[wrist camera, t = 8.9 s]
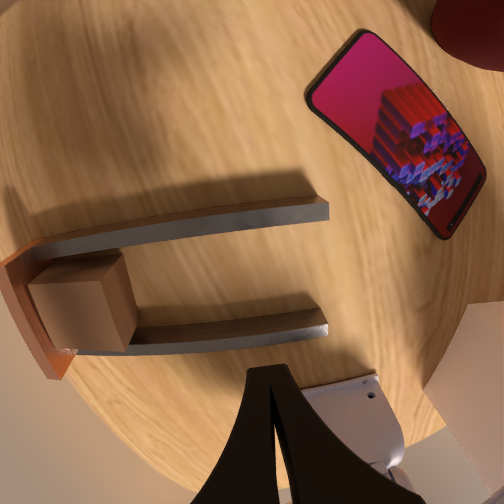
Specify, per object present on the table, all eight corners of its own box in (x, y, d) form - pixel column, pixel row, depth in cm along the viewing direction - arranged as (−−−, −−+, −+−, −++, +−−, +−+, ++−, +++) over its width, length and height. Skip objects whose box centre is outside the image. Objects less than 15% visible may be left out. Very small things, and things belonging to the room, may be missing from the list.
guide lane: (318, 195, 17) (349, 216, 12) (320, 319, 20) (341, 365, 15) (32, 240, 16) (-8, 268, 12) (71, 339, 20) (47, 378, 15)
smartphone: (367, 24, 12) (490, 173, 16) (361, 28, 13) (483, 171, 17) (300, 102, 14) (445, 246, 18) (297, 104, 15) (439, 242, 19)
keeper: (124, 253, 17) (100, 280, 14) (141, 316, 19) (125, 351, 15) (56, 260, 17) (27, 284, 13) (76, 317, 19) (54, 347, 15)
